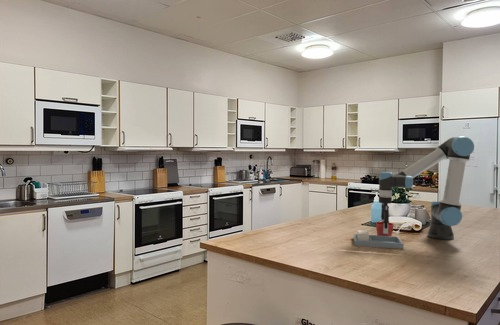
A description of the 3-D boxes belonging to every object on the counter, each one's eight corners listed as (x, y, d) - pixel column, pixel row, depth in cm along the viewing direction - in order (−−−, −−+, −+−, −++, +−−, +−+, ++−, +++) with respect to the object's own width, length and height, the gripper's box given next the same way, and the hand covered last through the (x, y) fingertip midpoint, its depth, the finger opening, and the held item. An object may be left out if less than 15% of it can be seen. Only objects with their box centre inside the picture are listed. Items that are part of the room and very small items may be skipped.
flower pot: (397, 239, 228) (397, 224, 228) (383, 241, 224) (383, 225, 223) (385, 236, 238) (385, 221, 237) (371, 237, 234) (371, 222, 233)
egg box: (357, 239, 223) (357, 230, 223) (367, 240, 222) (367, 230, 221) (358, 243, 213) (358, 233, 213) (368, 244, 212) (369, 234, 212)
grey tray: (353, 239, 227) (353, 233, 227) (398, 242, 221) (398, 236, 221) (354, 246, 210) (354, 240, 210) (403, 250, 204) (403, 243, 204)
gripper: (377, 194, 242) (376, 227, 243) (381, 198, 220) (380, 235, 220) (389, 194, 240) (388, 228, 241) (394, 199, 218) (393, 235, 218)
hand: (384, 231), depth 231 cm, fingers closed on flower pot, 11 cm apart
